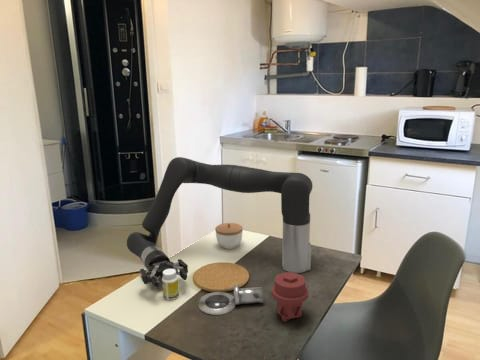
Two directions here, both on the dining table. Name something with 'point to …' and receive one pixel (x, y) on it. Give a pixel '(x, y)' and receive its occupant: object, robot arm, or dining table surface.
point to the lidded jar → (229, 235)
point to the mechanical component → (289, 294)
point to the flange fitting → (229, 300)
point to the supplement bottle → (170, 284)
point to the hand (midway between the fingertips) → (172, 281)
